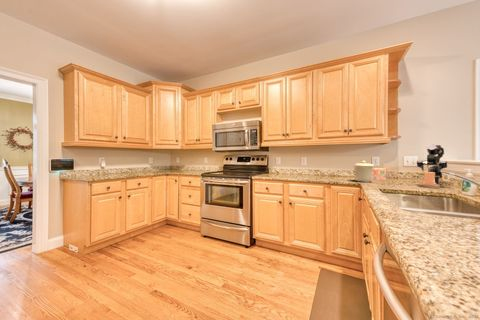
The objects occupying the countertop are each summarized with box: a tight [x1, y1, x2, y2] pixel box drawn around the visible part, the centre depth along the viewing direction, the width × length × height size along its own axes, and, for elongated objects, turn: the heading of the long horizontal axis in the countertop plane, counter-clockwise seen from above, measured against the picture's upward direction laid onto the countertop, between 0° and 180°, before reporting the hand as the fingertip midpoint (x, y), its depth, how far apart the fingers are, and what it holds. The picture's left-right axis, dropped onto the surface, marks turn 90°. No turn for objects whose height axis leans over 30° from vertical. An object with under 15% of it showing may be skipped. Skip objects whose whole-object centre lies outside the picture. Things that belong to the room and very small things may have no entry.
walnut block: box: [417, 182, 442, 190], centre depth 172 cm, size 12×12×3 cm
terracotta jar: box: [422, 171, 436, 185], centre depth 171 cm, size 7×7×10 cm
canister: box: [353, 160, 375, 183], centre depth 208 cm, size 18×18×21 cm
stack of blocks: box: [371, 167, 388, 181], centre depth 224 cm, size 21×6×12 cm, turn 78°
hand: (430, 171), depth 173 cm, fingers open, 9 cm apart
